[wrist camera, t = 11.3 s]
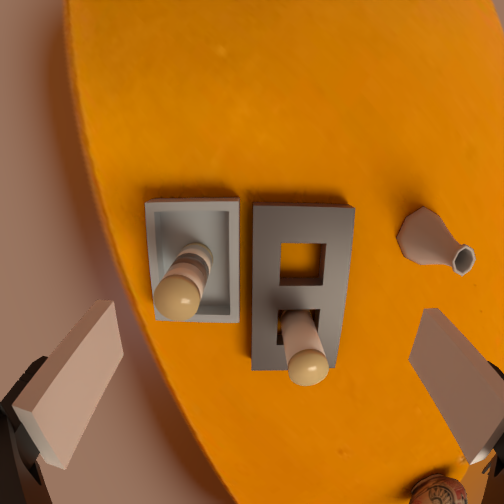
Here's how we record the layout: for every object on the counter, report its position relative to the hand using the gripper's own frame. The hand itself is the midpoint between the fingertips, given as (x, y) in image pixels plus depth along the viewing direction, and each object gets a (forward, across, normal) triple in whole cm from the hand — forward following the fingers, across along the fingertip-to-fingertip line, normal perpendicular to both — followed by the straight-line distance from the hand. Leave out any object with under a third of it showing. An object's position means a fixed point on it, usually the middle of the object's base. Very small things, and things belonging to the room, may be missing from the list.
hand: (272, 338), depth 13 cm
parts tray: (+25, -7, -6) cm, 26 cm away
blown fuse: (+24, -7, -6) cm, 26 cm away
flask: (+25, +21, -2) cm, 33 cm away
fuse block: (+25, +5, -9) cm, 27 cm away
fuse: (+25, +5, -13) cm, 29 cm away
